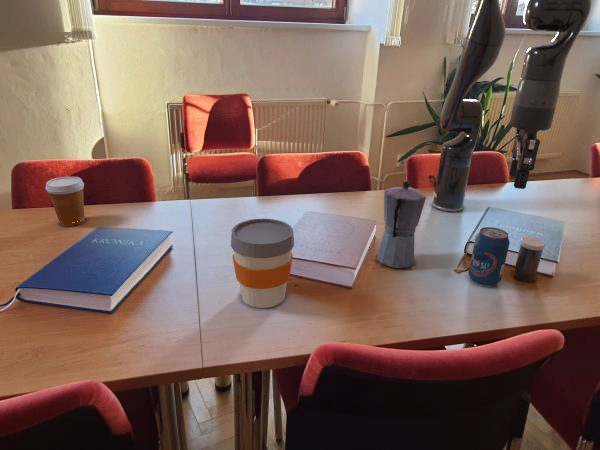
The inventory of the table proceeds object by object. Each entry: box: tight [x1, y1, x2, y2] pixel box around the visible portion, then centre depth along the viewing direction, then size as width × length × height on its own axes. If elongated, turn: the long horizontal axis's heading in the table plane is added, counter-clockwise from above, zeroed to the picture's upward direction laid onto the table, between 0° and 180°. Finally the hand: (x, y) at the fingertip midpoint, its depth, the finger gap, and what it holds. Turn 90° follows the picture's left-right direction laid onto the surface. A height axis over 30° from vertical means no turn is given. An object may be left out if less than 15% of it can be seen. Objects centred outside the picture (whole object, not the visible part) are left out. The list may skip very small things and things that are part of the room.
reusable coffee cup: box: [230, 218, 295, 309], centre depth 89 cm, size 13×13×15 cm
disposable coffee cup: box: [44, 176, 86, 227], centre depth 122 cm, size 10×10×12 cm
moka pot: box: [376, 180, 427, 269], centre depth 103 cm, size 10×15×20 cm, turn 161°
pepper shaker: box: [512, 236, 546, 282], centre depth 100 cm, size 5×5×9 cm
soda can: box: [468, 226, 511, 288], centre depth 98 cm, size 7×7×12 cm
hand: (516, 181), depth 93 cm, fingers open, 8 cm apart
